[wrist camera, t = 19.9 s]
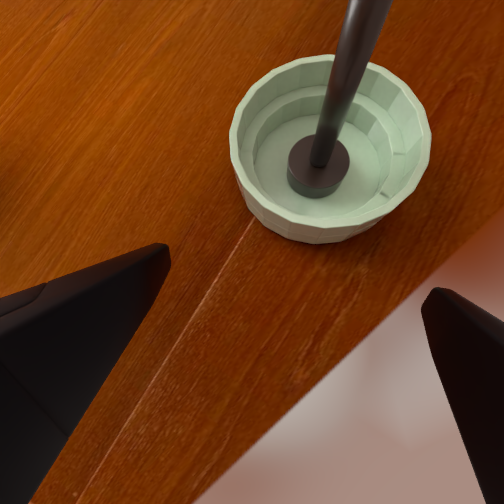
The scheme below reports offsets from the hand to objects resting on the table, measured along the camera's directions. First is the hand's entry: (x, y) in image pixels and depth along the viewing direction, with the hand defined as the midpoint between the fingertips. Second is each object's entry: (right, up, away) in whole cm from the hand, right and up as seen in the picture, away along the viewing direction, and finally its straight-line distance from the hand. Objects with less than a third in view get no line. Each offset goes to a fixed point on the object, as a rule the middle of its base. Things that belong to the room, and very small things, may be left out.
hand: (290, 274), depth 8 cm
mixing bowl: (+4, +8, +14) cm, 17 cm away
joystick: (+4, +8, +13) cm, 16 cm away
